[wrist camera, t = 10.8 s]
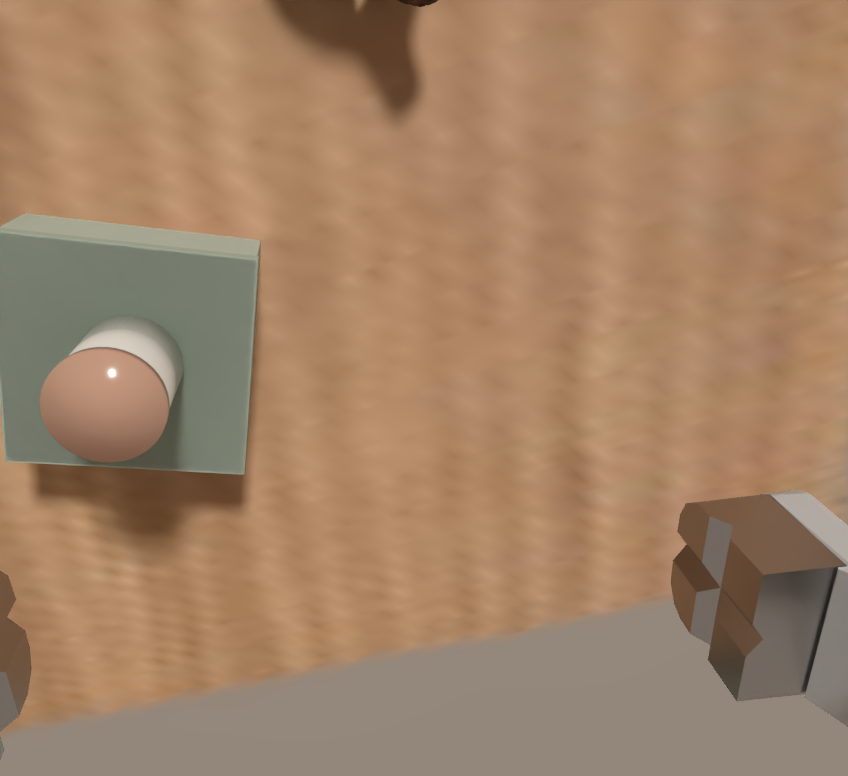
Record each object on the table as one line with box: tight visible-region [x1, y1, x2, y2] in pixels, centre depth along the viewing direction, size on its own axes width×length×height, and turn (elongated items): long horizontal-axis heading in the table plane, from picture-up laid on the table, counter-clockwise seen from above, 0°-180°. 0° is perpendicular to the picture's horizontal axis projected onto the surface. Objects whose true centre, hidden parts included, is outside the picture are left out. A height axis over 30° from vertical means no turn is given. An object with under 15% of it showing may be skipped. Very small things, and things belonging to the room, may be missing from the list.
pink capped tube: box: [40, 316, 183, 462], centre depth 35 cm, size 5×5×6 cm
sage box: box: [0, 213, 261, 475], centre depth 40 cm, size 12×12×5 cm
